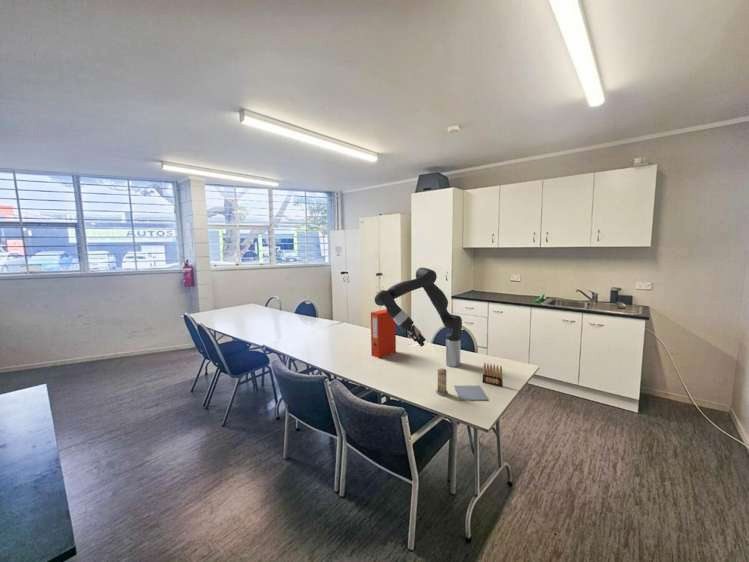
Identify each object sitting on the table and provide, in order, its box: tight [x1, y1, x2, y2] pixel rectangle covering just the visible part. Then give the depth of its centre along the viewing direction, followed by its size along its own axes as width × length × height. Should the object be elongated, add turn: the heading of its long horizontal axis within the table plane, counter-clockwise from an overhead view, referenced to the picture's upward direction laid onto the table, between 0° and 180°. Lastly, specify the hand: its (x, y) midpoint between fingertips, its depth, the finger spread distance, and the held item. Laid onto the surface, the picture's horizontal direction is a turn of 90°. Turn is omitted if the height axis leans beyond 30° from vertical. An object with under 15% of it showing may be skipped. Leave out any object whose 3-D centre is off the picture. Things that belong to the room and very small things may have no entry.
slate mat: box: [453, 385, 489, 402], centre depth 169 cm, size 16×14×1 cm
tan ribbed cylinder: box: [435, 367, 449, 397], centre depth 169 cm, size 6×6×13 cm
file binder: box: [370, 308, 397, 359], centre depth 231 cm, size 8×17×32 cm, turn 132°
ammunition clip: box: [482, 362, 504, 388], centre depth 179 cm, size 11×2×12 cm, turn 54°
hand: (423, 343), depth 169 cm, fingers open, 8 cm apart
